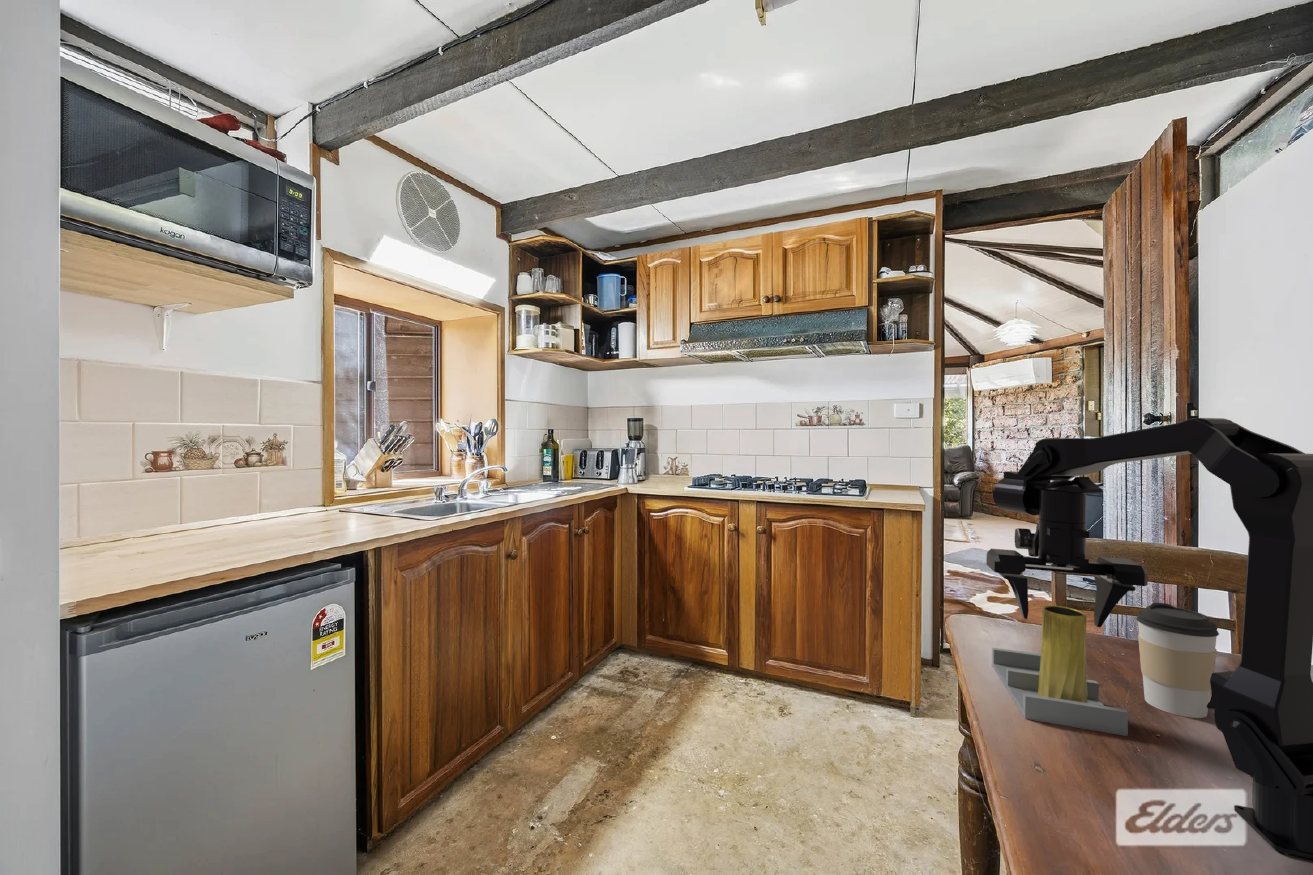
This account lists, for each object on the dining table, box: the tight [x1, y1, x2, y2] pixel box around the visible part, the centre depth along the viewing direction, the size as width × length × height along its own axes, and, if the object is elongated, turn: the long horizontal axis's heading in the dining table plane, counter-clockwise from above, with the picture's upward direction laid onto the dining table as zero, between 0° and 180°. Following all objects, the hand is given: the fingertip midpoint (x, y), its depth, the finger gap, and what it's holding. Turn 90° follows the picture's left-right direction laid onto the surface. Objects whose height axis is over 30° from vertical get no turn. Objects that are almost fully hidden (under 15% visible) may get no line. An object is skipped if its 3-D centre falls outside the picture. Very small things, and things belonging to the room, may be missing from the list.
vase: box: [1038, 604, 1088, 703], centre depth 79 cm, size 6×6×14 cm
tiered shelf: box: [991, 647, 1129, 737], centre depth 83 cm, size 19×12×3 cm, turn 159°
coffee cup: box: [1135, 602, 1220, 719], centre depth 80 cm, size 9×9×15 cm
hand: (1060, 622), depth 79 cm, fingers open, 9 cm apart
